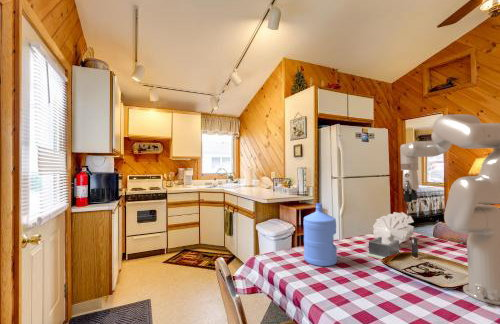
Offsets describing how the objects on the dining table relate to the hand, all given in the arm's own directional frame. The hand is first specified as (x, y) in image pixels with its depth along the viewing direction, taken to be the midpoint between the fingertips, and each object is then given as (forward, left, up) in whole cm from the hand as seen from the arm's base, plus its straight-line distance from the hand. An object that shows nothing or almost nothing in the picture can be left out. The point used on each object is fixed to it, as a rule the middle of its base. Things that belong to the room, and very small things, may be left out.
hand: (410, 200), depth 122 cm
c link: (-6, +11, -27) cm, 30 cm away
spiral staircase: (+18, +14, -28) cm, 37 cm away
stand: (-1, -1, -28) cm, 28 cm away
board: (-7, +11, -28) cm, 31 cm away
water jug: (-38, +30, -28) cm, 56 cm away
